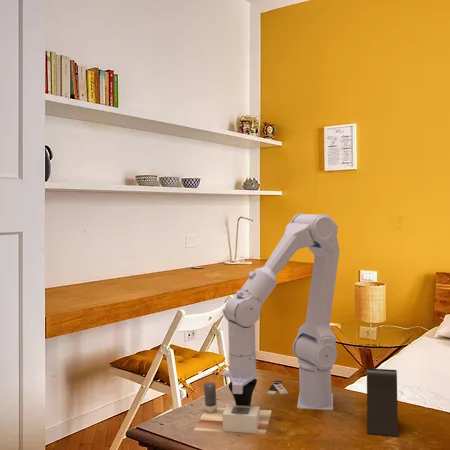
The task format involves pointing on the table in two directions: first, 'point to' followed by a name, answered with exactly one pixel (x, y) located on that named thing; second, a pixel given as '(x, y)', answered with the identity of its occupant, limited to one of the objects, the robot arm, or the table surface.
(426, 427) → the table surface
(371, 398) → the phone stand
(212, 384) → the grey capped cylinder
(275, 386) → the usb flash drive
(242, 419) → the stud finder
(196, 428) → the panel
